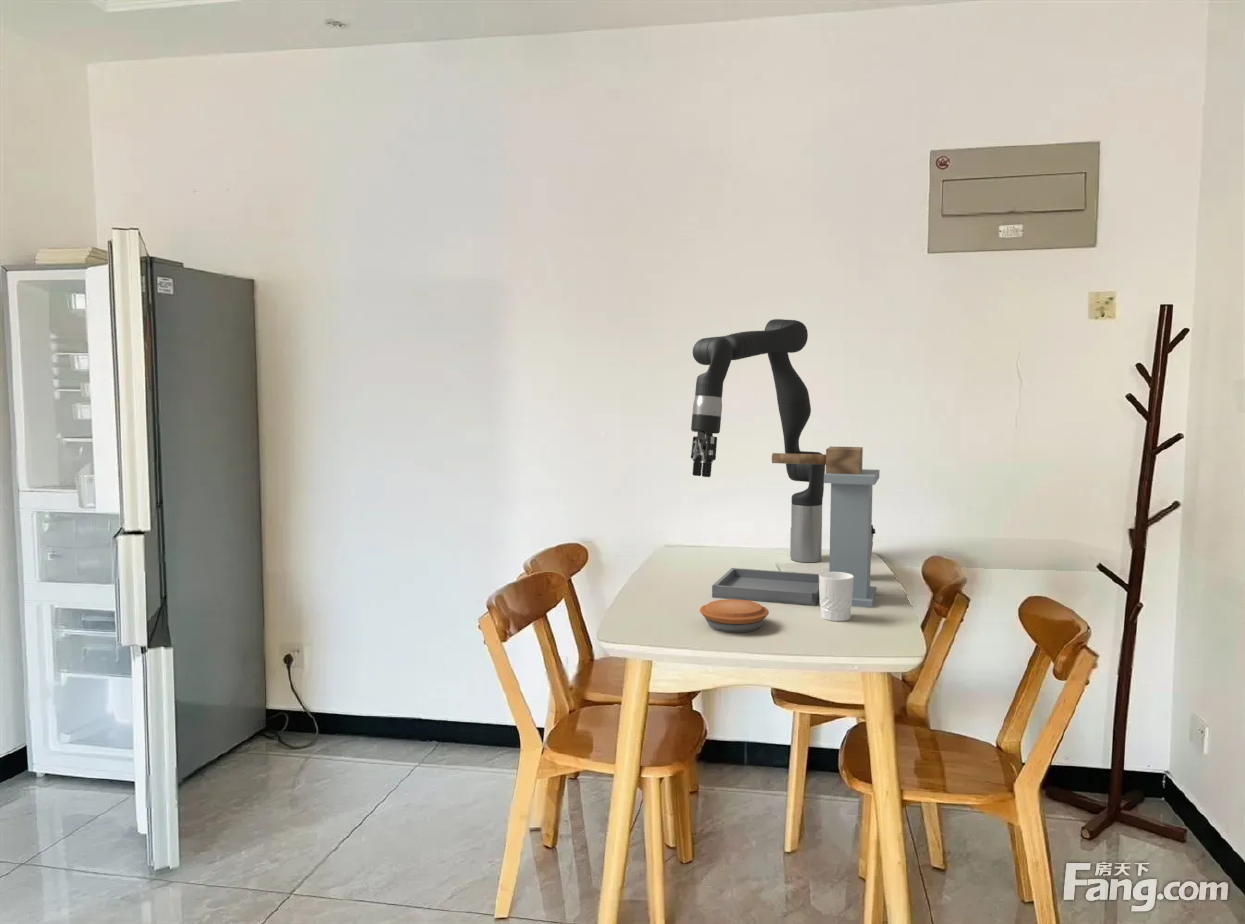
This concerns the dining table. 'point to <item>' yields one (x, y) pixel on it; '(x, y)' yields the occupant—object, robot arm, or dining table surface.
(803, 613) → the dining table surface
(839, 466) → the mallet
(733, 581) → the tray
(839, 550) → the pedestal
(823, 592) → the white cup
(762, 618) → the pie
